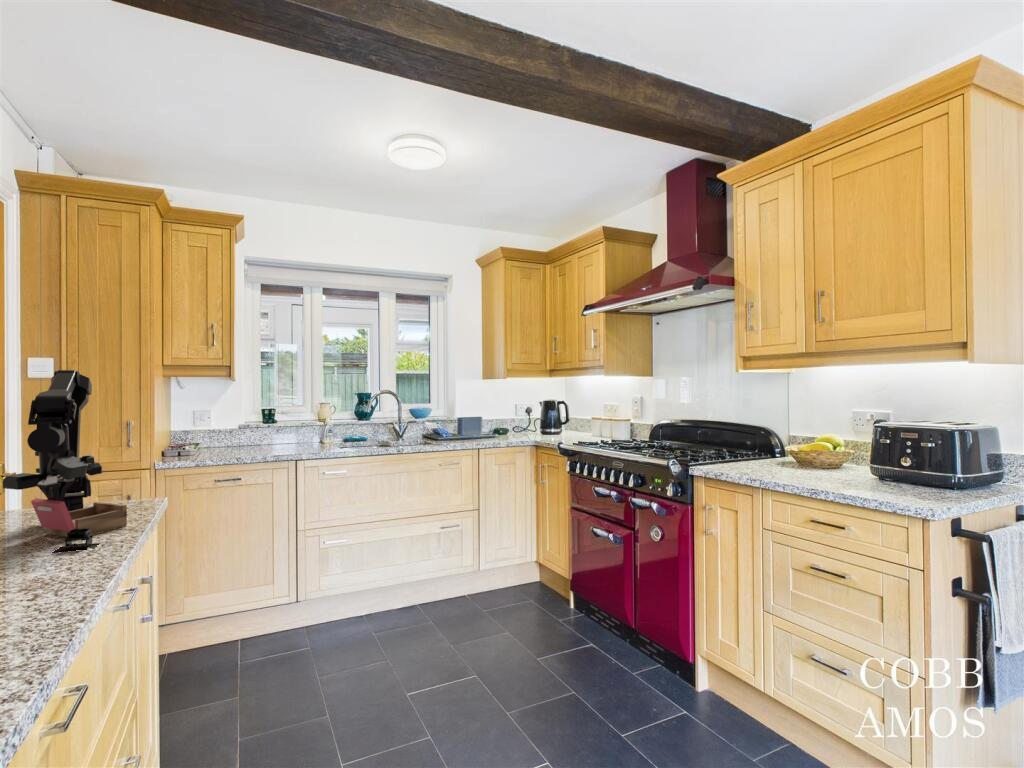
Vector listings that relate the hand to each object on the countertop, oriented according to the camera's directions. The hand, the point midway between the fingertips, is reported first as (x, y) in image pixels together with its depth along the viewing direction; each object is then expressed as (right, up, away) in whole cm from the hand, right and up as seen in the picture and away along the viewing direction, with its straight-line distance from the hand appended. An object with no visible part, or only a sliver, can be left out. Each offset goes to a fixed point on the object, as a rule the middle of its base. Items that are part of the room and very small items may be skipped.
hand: (57, 509), depth 133 cm
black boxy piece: (+11, -8, -7) cm, 16 cm away
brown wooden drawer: (+2, -7, +7) cm, 10 cm away
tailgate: (0, -4, +1) cm, 4 cm away
